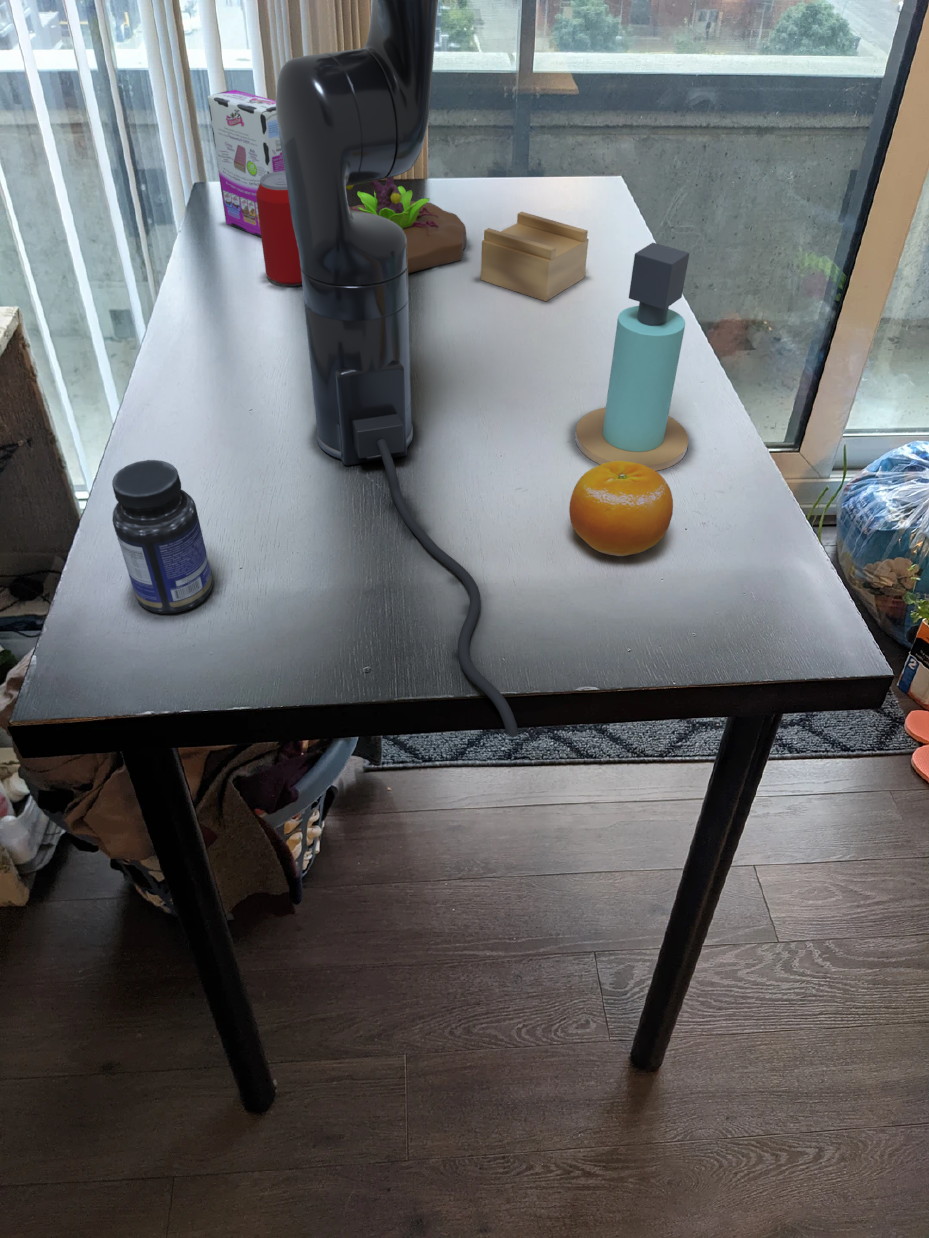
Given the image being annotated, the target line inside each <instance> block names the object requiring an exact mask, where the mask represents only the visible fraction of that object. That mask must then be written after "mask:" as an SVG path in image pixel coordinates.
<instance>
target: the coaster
mask: <svg viewBox="0 0 929 1238" xmlns="http://www.w3.org/2000/svg"><path fill="white" fill-rule="evenodd" d="M605 410H606V406H604V407H599V408H597V409H595V410H592V411H590V412H587V413H586V414H584V415H583V416H582V417H581V418H580V420H579V421H578V423H577V424H576V427H575V435H574V436H575V437H574V439H575V443H576V446H577V448H578V449H579V451H580V452H581V453H582V454H583V455H584V456H585V457H587V458H588V459H589V460H591V461H592V462H595V463H596V464H598V465H601V464H604V463H607V462H612V461H627V462H634V463H639V464H642V465H645V466H647V467H649V468H651V469H653V470H655V471H656V472H658V471H662V470H665V469H668V468H671V467H673V466H674V465H677V464H678V463H679V462H680V461H682V459H683V458H684V457H685V456H686V454H687V450H688V447H689V435H688V433H687V430H686V429H685V427H684V426H683V425H682V424H680V422H679V421H677V420H676V419H675V418H673V417H671V416H670V415H668V420H667V425H666V431H665V436H664V440H663V442H662V444H661V445H660V446H659V447H657V448H655V449H653V450H649V451H644V452H632V451H626V450H622V449H619V448H616V447H614V446H612V445H611V444H609V443H608V442H607V441H606V440H605V438H604V437H603V425H604V417H605Z"/></svg>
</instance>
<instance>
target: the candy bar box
mask: <svg viewBox="0 0 929 1238" xmlns="http://www.w3.org/2000/svg"><path fill="white" fill-rule="evenodd" d="M206 98H207V104H208V111H209V116H210V125H211V130H212V137H213V143H214V145H213V146H214V151H215V158H216V164H217V165H216V166H217V171H218V177H219V185H220V192H221V199H222V206H223V212H224V219H225V223H226V224H227V225H229V226H231V227H234V228H236V229H238V230H241V231H244V232H247V233H248V234H251V235H254V236H257V237H260V238H261V232H260V224H259V216H258V207H257V199H256V192H257V190H258V187H259V184H260V178H261V177H262V176H263V175H265V174H268V173H272V172H279V171H285V168H284V162H283V156H282V150H281V144H280V138H279V131H278V124H277V116H276V100H274V99H271V98H266V97H263V96H260V95H257V94H256V95H255V94H251V93H249V92H245V91H241V90H238V89H231V90H225V91H222V92H218V93H214V94H209V95H207V96H206Z"/></svg>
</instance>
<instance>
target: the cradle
mask: <svg viewBox="0 0 929 1238" xmlns="http://www.w3.org/2000/svg"><path fill="white" fill-rule="evenodd" d="M588 231H589V230H588V229H584V228H580V227H577V226H574V225H571V224H567V223H563V222H560V221H556V220H553V219H549V218H547V217H543V216H539V215H536V214H532V213H528V212H525V211H520V212H518V213H517V215H516V223H514V224H512V225H510V226H508V227H506V228H505V229H503V230H501V231H500V230H497V229H494V228H492V227H491V228H490V227H488V228H486V229H484V231H483V239H482V240H481V256H480V258H481V260H480V281H483V282H486V283H489V284H492V285H495V286H498V287H500V288H504V289H507V290H510V291H513V292H516V293H519V294H522V295H524V296H529V297H531V298H534V299H538V300H540V301H543V302H548V301H549V300H550V299H553V298H554V297H556V296H558V295H559V294H560V293H562V292H563V291H566V290H567V289H569V288H570V287H572V286H574V285H575V284H577V283H578V282H581V281H582V280H583V279H585V276H586V266H587V258H588V247H589V239H588Z"/></svg>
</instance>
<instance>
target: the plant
mask: <svg viewBox="0 0 929 1238" xmlns="http://www.w3.org/2000/svg"><path fill="white" fill-rule="evenodd" d="M394 181H395V180H394V177H390V178H386V179H385V185H382V184H381V183H380V182H379V180H377V181H372V182H369V183H370V186H371V187H372V188H373V190H374V191H373V193H374V194H373V195H374V196H373V195H371V194H370V193H367V192H364V191H363V192H362V191H359V190H358V191H357V193H356V195H357V196H358V198H360V201H361V203H362V204H358V205H356V206H355V205H354V206H349V209H352V210H356V211H362V212H366V213H371V214H375V215H379V216H382V217H384V218H387V219H389V220H391V221H393V222H394V223H396V224H397V225H399V226H400V227H401V228H402V230H403V231H404V233H405V235H406V239H407V250H408V274H412V273H415V272H419V271H423V270H427V269H431V268H433V267H438V266H441V265H446V264H451V263H455V262H459V261H461V260H462V259H463V255H464V254H463V253H464V252H463V251H464V249H465V248H466V246H467V227H466V225H465V223H464V222H463V221H462V219H461V218H460V217H459V216H458V215H457V214H456V213H453V212H450V211H446V210H444V209H442V208H441V207H439V206H438V205H436V204H434V203H432V202H430V198H429V197H426V198H421V199H419V200H417V201H415V200H412V197H413V190H411V189H410V190H407V191H406V189H405V187H404V186H402V185H399V186H397V185H396V184H395V183H394ZM353 188H354V185H351V186H346V190H347V191H350V190H352V189H353Z"/></svg>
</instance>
